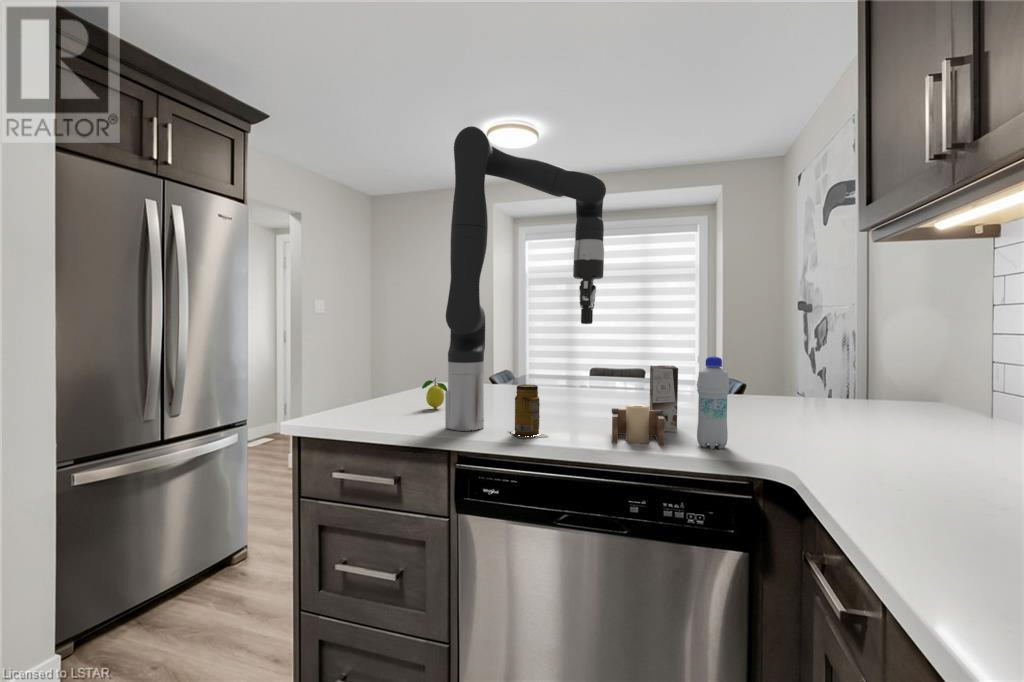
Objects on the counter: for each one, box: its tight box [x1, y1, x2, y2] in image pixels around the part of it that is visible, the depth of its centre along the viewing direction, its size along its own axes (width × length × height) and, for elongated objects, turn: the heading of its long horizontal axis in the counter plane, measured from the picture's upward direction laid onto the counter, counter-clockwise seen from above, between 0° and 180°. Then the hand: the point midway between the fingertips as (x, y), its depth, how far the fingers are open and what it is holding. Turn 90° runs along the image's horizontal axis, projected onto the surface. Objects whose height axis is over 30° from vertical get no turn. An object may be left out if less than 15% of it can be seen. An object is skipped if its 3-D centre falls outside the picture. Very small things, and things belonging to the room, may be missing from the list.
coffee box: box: [649, 365, 679, 433], centre depth 131 cm, size 9×6×16 cm
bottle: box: [696, 355, 730, 450], centre depth 111 cm, size 7×7×20 cm
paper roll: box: [625, 404, 650, 444], centre depth 117 cm, size 5×5×8 cm
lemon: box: [421, 377, 448, 410], centre depth 159 cm, size 7×6×10 cm
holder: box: [611, 407, 665, 447], centre depth 119 cm, size 12×11×7 cm
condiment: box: [508, 383, 549, 439], centre depth 123 cm, size 7×8×12 cm
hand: (586, 323), depth 128 cm, fingers open, 8 cm apart
